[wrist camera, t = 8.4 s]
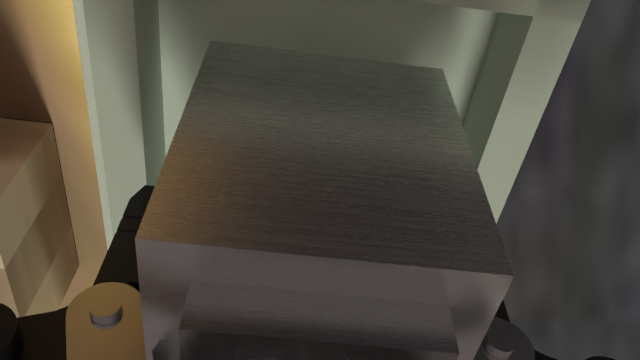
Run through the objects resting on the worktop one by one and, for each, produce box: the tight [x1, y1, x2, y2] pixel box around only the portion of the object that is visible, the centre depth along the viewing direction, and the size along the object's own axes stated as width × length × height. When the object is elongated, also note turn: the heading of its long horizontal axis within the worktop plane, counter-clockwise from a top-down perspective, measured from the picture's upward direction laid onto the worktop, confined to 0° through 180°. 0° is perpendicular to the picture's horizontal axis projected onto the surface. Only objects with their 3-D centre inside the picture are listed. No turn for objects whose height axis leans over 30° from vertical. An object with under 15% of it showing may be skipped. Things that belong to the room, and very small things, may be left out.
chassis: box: [73, 0, 591, 249], centre depth 16 cm, size 12×14×3 cm
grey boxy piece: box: [135, 40, 514, 360], centre depth 12 cm, size 5×7×7 cm
